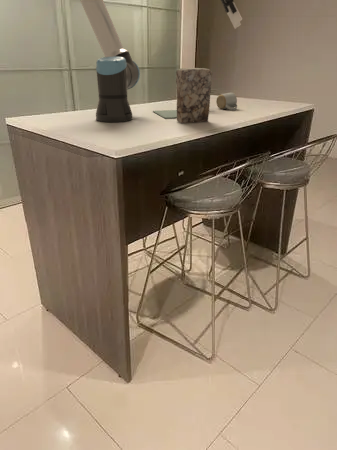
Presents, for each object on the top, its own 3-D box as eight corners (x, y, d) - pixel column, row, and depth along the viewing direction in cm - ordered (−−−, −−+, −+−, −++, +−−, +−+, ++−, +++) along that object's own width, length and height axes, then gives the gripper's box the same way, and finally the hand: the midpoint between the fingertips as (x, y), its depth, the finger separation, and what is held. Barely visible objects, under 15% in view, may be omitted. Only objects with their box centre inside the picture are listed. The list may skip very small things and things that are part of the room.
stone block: (183, 124, 134) (185, 68, 125) (174, 121, 139) (175, 67, 130) (210, 121, 140) (214, 68, 131) (200, 119, 145) (203, 67, 136)
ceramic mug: (214, 108, 175) (215, 92, 171) (226, 107, 179) (227, 91, 176) (229, 111, 167) (230, 94, 164) (240, 110, 172) (242, 94, 168)
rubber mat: (165, 118, 145) (165, 117, 144) (152, 111, 162) (152, 110, 161) (204, 117, 150) (204, 116, 149) (188, 110, 167) (188, 109, 166)
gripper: (219, -51, 111) (249, 12, 116) (220, -30, 133) (245, 22, 139) (199, -35, 113) (230, 26, 119) (203, -17, 136) (229, 34, 141)
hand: (238, 24), depth 129 cm, fingers open, 13 cm apart
